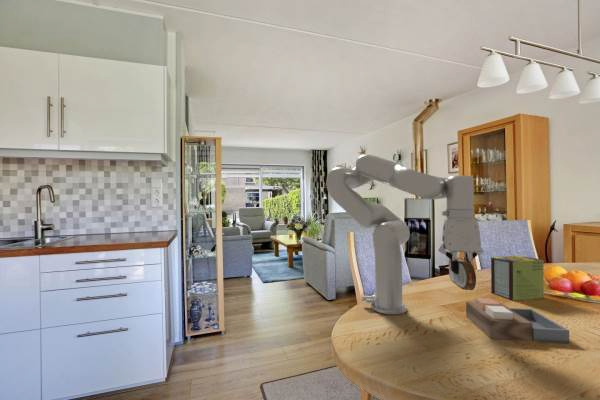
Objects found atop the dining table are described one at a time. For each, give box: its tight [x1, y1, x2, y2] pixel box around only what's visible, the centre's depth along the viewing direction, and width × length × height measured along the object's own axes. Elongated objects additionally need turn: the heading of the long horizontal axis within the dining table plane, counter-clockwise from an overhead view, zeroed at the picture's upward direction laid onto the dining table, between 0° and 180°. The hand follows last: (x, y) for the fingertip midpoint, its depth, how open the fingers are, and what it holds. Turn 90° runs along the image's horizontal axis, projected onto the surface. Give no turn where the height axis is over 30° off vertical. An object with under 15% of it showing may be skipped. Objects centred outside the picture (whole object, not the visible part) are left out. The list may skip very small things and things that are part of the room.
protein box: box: [490, 255, 545, 302], centre depth 121 cm, size 10×15×16 cm
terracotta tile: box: [474, 297, 500, 310], centre depth 94 cm, size 5×5×2 cm
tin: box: [448, 256, 477, 291], centre depth 92 cm, size 15×3×8 cm, turn 172°
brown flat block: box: [465, 301, 533, 342], centre depth 91 cm, size 11×16×5 cm
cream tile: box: [486, 306, 513, 320], centre depth 87 cm, size 5×5×2 cm
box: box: [508, 307, 570, 344], centre depth 89 cm, size 9×16×4 cm, turn 172°
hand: (460, 272), depth 92 cm, fingers closed on tin, 2 cm apart
